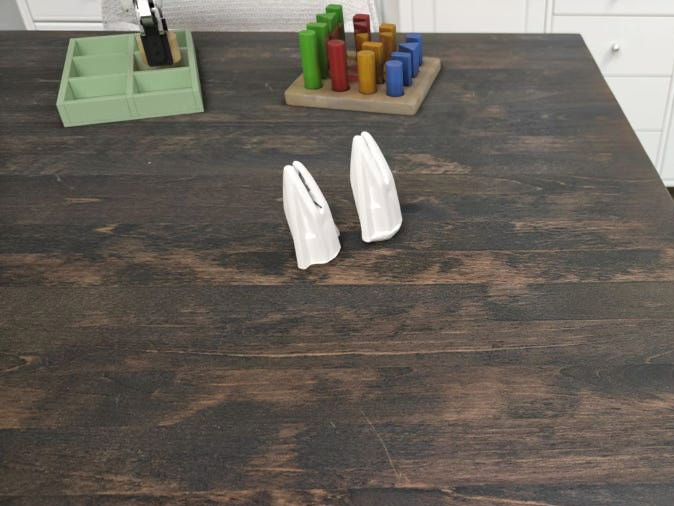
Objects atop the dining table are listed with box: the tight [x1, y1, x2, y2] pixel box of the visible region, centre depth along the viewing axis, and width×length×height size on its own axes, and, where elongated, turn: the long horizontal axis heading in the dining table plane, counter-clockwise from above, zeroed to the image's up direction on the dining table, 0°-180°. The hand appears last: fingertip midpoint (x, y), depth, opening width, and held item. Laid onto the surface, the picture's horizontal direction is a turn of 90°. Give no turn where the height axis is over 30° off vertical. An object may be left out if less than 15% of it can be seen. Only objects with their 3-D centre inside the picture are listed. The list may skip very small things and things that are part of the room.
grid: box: [55, 28, 205, 128], centre depth 100 cm, size 16×24×3 cm
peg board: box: [283, 3, 442, 116], centre depth 100 cm, size 18×17×9 cm
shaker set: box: [282, 131, 403, 270], centre depth 69 cm, size 12×4×11 cm, turn 121°
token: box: [136, 30, 181, 65], centre depth 99 cm, size 5×5×3 cm
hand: (160, 56), depth 100 cm, fingers closed on token, 4 cm apart
